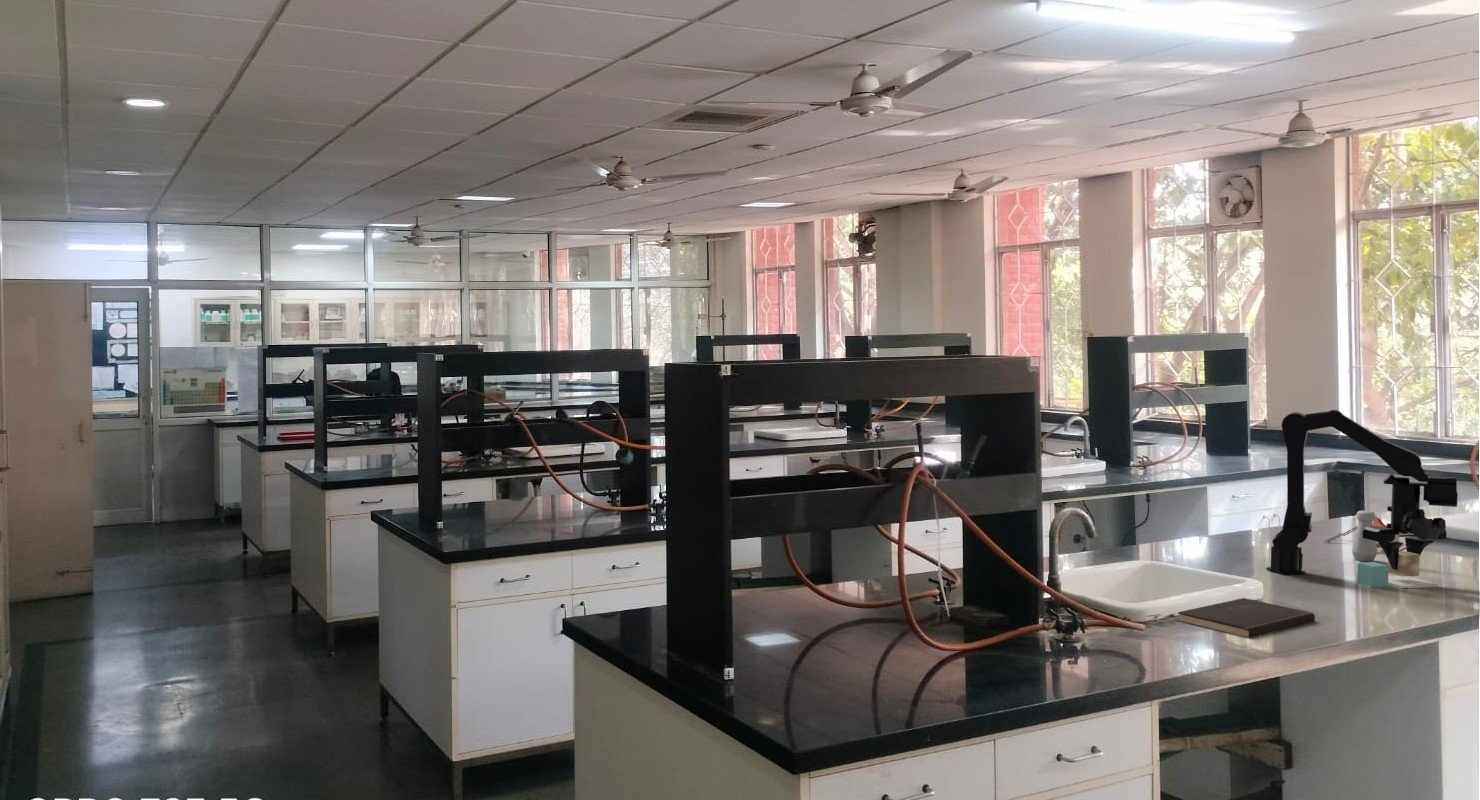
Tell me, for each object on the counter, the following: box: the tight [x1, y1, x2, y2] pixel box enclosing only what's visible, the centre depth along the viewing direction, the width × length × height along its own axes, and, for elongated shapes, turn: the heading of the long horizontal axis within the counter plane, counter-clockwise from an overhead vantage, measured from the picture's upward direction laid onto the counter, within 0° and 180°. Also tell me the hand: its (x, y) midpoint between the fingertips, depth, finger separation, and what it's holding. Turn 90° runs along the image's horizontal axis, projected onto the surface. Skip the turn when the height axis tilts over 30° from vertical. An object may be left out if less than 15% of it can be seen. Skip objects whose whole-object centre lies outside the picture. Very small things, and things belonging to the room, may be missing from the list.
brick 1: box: [1356, 561, 1390, 588], centre depth 263 cm, size 4×4×5 cm
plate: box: [1388, 575, 1439, 589], centre depth 265 cm, size 10×10×1 cm
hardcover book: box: [1177, 597, 1316, 639], centre depth 230 cm, size 16×23×2 cm
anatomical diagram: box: [1323, 515, 1406, 555], centre depth 310 cm, size 21×9×25 cm
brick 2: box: [1387, 550, 1421, 577], centre depth 265 cm, size 4×4×5 cm
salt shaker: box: [1351, 510, 1378, 563], centre depth 291 cm, size 6×6×13 cm
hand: (1403, 569), depth 265 cm, fingers closed on brick 2, 4 cm apart
